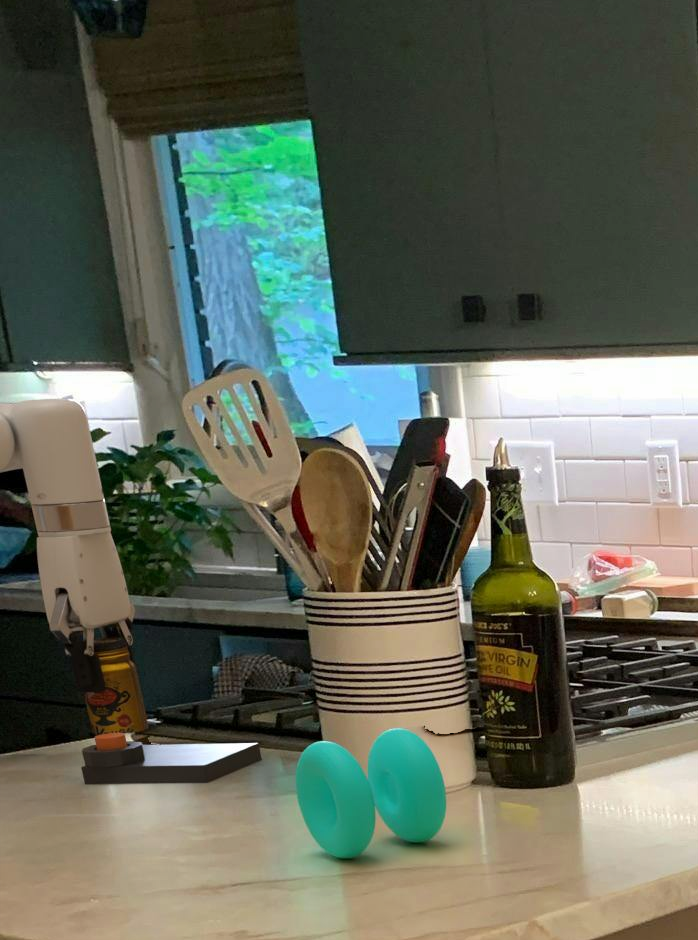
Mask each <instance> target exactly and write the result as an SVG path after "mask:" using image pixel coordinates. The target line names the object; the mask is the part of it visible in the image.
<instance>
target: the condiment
mask: <svg viewBox="0 0 698 940" xmlns="http://www.w3.org/2000/svg"><path fill="white" fill-rule="evenodd" d="M93 655H99V660H100V664H101V669H102V673H103V678H104V682H105V687H106V690H105V691H103V692H83V694H84V700H85V704H86V709H87V712H88V716H89V722H90V726H91V729H92V733H93V734H94V735H95V736H97V735H101V734H108V733H124V734H125V735H127V734H133V733H138V732H142V731H143V732H144V731H146V730H148V729H149V722H148V716H147V713H146V708H145V704H144V699H143V695H142V691H141V685H140V681H139V677H138V676H139V675H138V671H137V667H135V666H136V663H135V664H134V663H133V662H132V661H131V660H130V659H129V656H130V654H129V652H128V649H127V642H126V641H125V639H124V638H103V637H101V638H94V654H93ZM150 735H151V734H148V735H145V736H142V737H139V738H137V739H135V740H133V741H135V742H141V743H142V745H158V744H151V742H149V740H148V737H150Z"/></svg>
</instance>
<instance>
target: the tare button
mask: <svg viewBox="0 0 698 940" xmlns="http://www.w3.org/2000/svg"><path fill="white" fill-rule="evenodd" d="M126 741H127V737H126V734H124V733H108V734H101V735H94V742H95V745H96V747H97V750H111V749H119V748H124V747H127V742H126Z"/></svg>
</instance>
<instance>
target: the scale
mask: <svg viewBox="0 0 698 940" xmlns="http://www.w3.org/2000/svg"><path fill="white" fill-rule="evenodd" d="M126 742H127V747H124V748H119V749H111V750H97V747H96V744H92V745H89V746H86V747H83V748H82V750H81V753H82V759H83V762H84V765H83V766H80V768H81V773H82V778H83V782H84V785H131V784H132V785H135V784H136V785H137V784H139V785H141V784H145V785H146V784H147V785H148V784H209V783H210V782H214V781H216V780H218V779H220V778H222V777H225V776H227V775H229V774H231V773H235V772H237V771H239V770H241V769H244V768H246V767H248V766H250V765H253V764H255V763H258V762H260V761H262V753H261V749H260V748H261V747H260V743H259V742H247V743H246V742H240V743H239V742H237V743H235V742H234V743H181V744H180V743H179V744H178V743H177V744H176V743H175V744H174V743H173V744H172V743H171V744H170V743H169V744H161V745H142V743H141V742H135V741H134V740H131V741H130V740H129V741H127V740H126Z"/></svg>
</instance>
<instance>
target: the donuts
mask: <svg viewBox="0 0 698 940" xmlns="http://www.w3.org/2000/svg"><path fill="white" fill-rule="evenodd" d="M368 753H369V754H368V757H367V767H366V768H367V771H366V772H367V773H365V771H364V769H363V768H362V765H360V763H359V761H358V760H357V759H356V757H354V755H353V754H352V753H351V752H350V751H348V749H346V748H345V747H344V746H341V745H340V744H338V743H336V742H334V741H333V742H332V741H327V740H320V741H316V742H313V743H312V744H309V745H308V746H307V747H306V748H305V749H304V750H303V751H302V753H301V754H300V756H299V758H298V761H297V765H296V768H295V769H296V771H295V791H296V796H297V797H296V798H297V802H298V806H299V810H300V813H301V815H302V819H303V821H304V823H305V826H306V828H307V830H308V831H309V833H310V836H311V837H312V838H313V839H314V841H315V842H316V843H317V845H318V846H319V847H320V848H322V850H324V851H325V852H327V854H329V855H331V856H334V857H335V858H339V859H352V858H355V857H357V856H359V855H361V854H362V853H363V852H365V850H366V849H367V848H368V846H369V845H370V843H371V841H372V839H373V836H374V834H375V833H374V832H375V828H376V819H377V818H376V811H377V814H378V815H379V817H380V818H381V820H382V822H383V823H384V825H385V826H386V827H387V828H388V829H389V830H390V831H391V832H392V833H393V834H395V835H396V836H397V837H398V838H400V839H402V840H404V841H407V842H410V843H414V844H417V843H418V844H419V843H424V842H428V841H429V840H431V839H433V838H434V837H435V836H436V835H437V834H438V833H439V832H440V830H441V828H442V826H443V824H444V821H445V818H446V813H447V793H446V786H445V781H444V777H443V773H442V771H441V768H440V765H439V763H438V761H437V758H436V756H435V755H434V752H433V751H432V750H431V748H430V747H429V745H428V744H427V743H426V742H425V741H424V740H423V739H422V738H421V737H420V736H419V735H418V734H416V733H415V732H413V731H412V730H408V729H405V728H401V727H395V728H390V729H387V730H385V731H383V732H382V733H381V734H379V735H378V736H377V737H376V739H375V740H374V741H373V743H372V745H371V748H370V751H369V752H368Z"/></svg>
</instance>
